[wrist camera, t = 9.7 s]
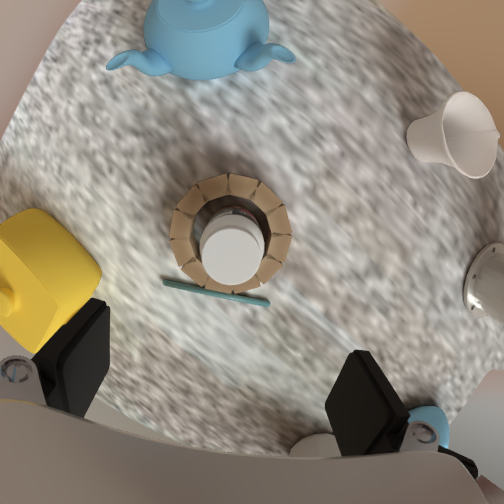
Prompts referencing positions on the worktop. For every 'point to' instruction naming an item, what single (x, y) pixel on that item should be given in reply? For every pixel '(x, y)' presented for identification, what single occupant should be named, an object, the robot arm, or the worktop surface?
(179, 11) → the teapot
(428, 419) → the sugar bowl
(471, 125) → the cup
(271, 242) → the segmented tan ring
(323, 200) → the worktop surface
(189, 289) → the green stick
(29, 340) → the teapot
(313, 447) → the jar
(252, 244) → the pill bottle
